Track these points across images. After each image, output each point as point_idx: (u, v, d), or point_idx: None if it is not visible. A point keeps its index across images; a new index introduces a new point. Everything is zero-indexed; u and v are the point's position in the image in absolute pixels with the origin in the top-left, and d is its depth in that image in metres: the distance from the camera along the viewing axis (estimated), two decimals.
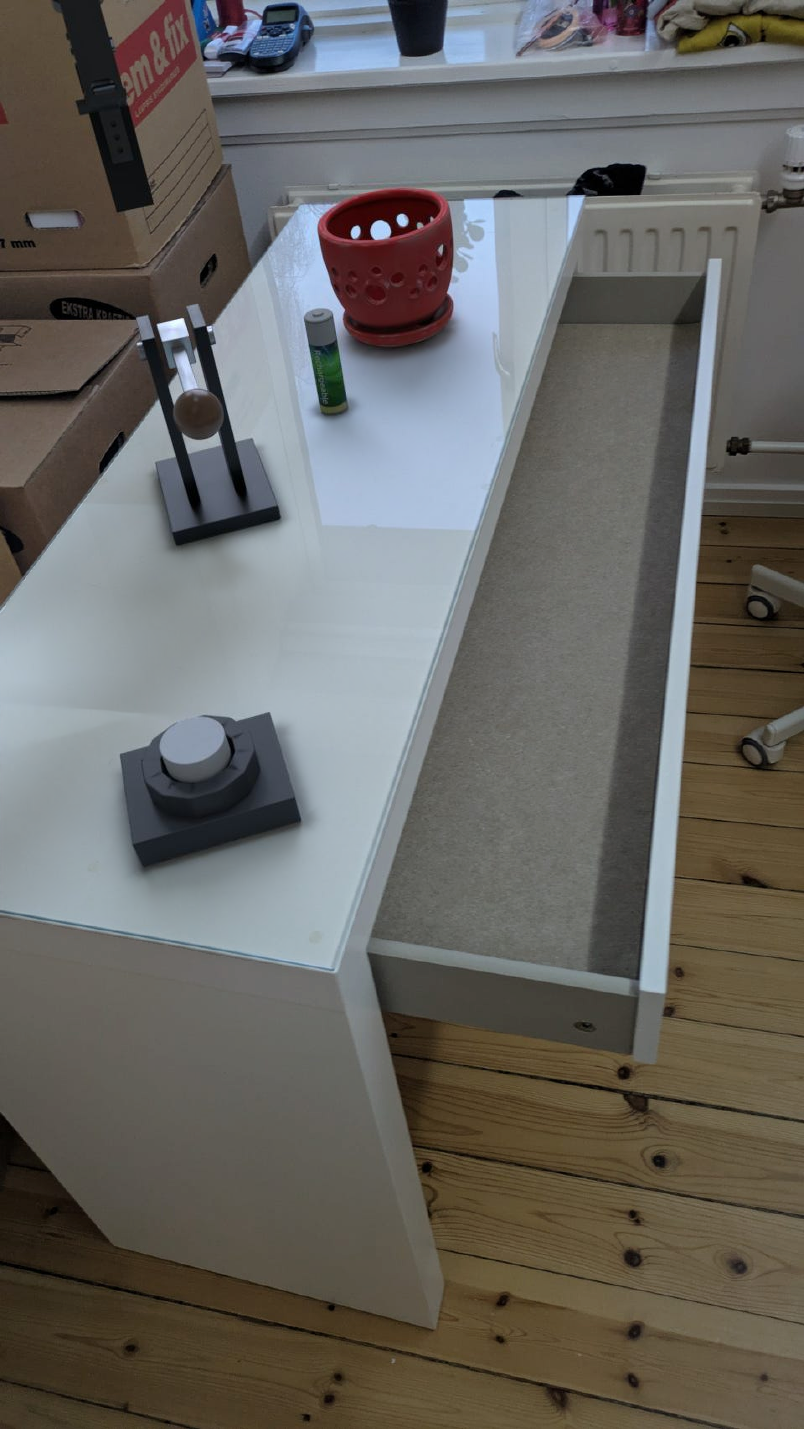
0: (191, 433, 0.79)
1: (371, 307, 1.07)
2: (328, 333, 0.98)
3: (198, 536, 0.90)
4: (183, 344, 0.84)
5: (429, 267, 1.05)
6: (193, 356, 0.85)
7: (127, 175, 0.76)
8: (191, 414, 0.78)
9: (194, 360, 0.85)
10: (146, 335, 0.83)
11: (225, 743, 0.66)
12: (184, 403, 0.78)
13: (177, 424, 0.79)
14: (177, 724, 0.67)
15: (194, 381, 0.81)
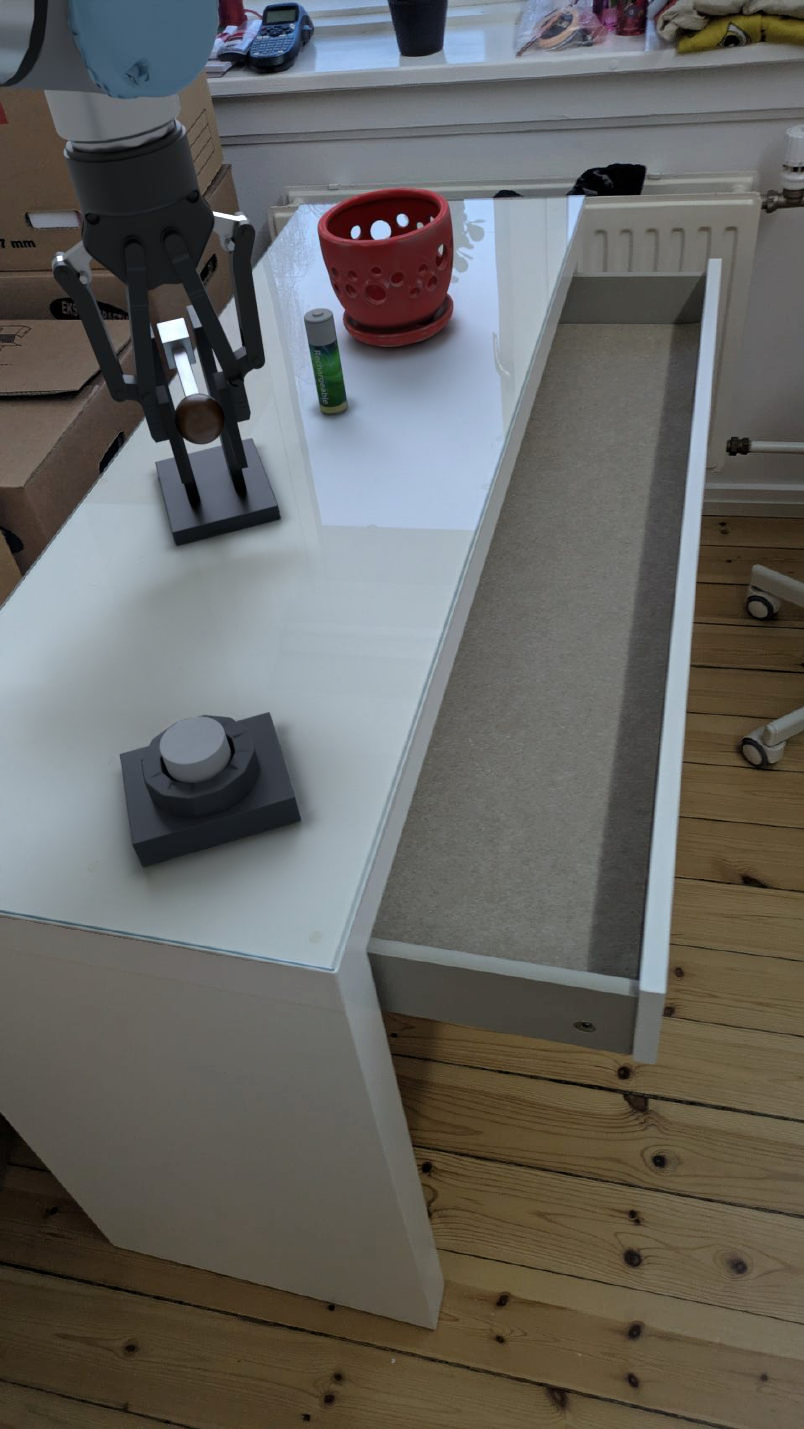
0: (192, 438, 0.79)
1: (371, 307, 1.07)
2: (328, 333, 0.98)
3: (198, 536, 0.90)
4: (183, 345, 0.84)
5: (429, 267, 1.05)
6: (193, 356, 0.85)
7: None
8: (192, 420, 0.78)
9: (194, 360, 0.86)
10: None
11: (225, 743, 0.66)
12: (186, 409, 0.78)
13: (178, 429, 0.79)
14: (177, 724, 0.67)
15: (195, 384, 0.81)
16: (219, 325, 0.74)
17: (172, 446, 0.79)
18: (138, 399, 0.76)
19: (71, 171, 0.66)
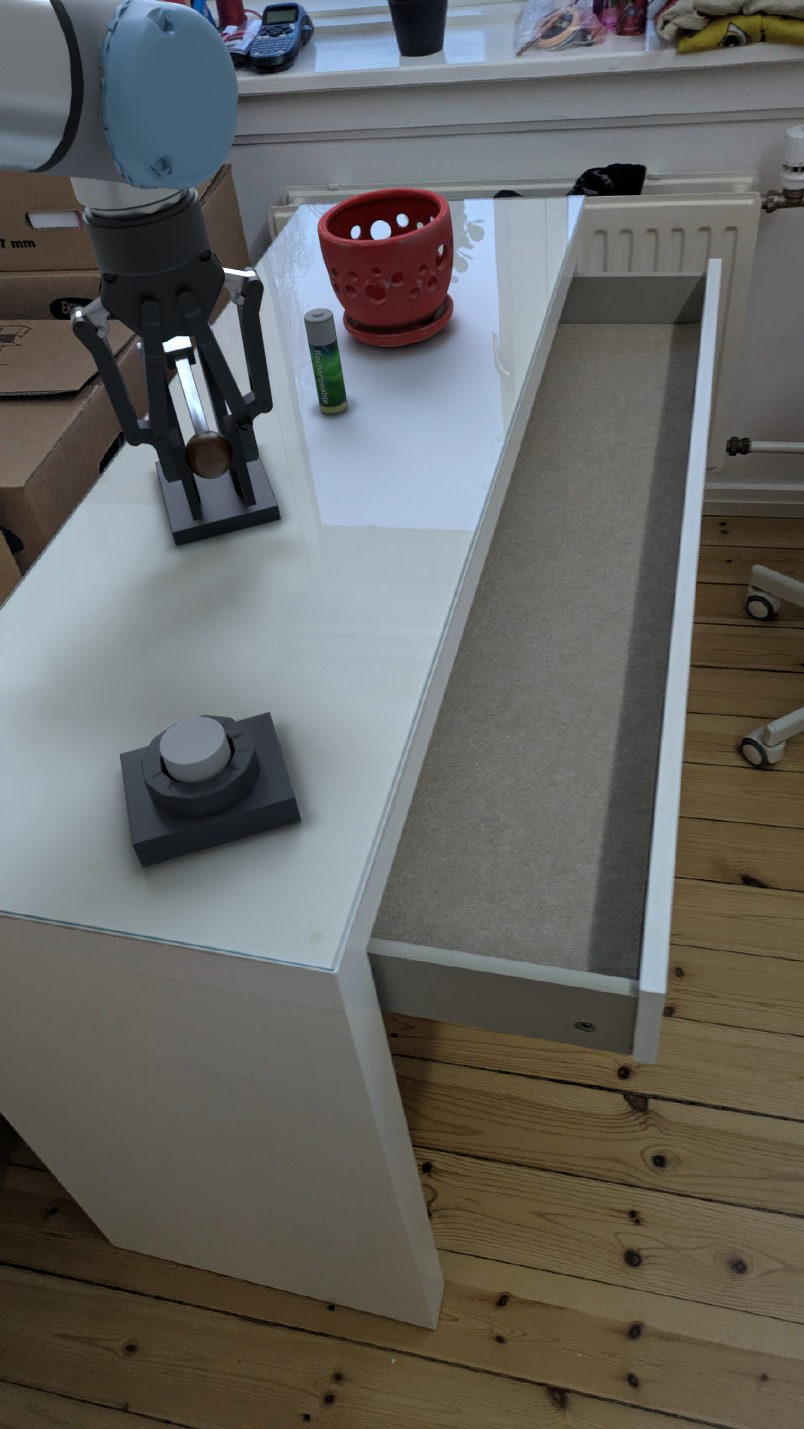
0: (203, 477, 0.83)
1: (371, 307, 1.07)
2: (328, 333, 0.98)
3: (198, 536, 0.90)
4: (185, 353, 0.85)
5: (429, 267, 1.05)
6: (194, 360, 0.86)
7: None
8: (204, 465, 0.82)
9: (194, 362, 0.86)
10: None
11: (225, 743, 0.66)
12: (198, 454, 0.81)
13: (189, 467, 0.83)
14: (177, 724, 0.67)
15: (202, 410, 0.84)
16: (229, 373, 0.78)
17: (184, 486, 0.83)
18: (152, 443, 0.80)
19: (90, 235, 0.69)
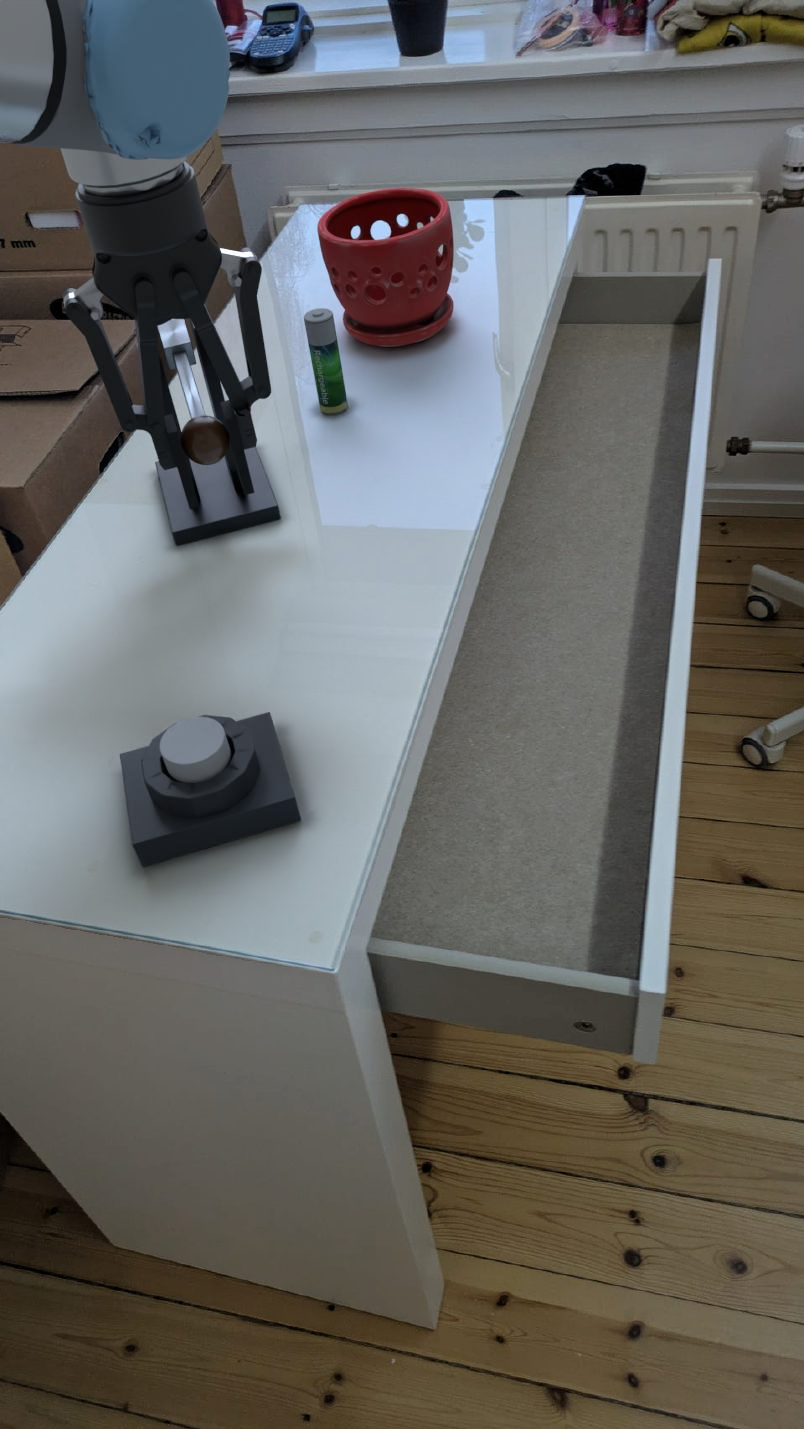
0: (199, 461, 0.81)
1: (371, 307, 1.07)
2: (328, 333, 0.98)
3: (198, 536, 0.90)
4: (184, 349, 0.84)
5: (429, 267, 1.05)
6: (194, 358, 0.86)
7: None
8: (200, 446, 0.80)
9: (194, 362, 0.86)
10: None
11: (225, 743, 0.66)
12: (193, 435, 0.80)
13: (185, 452, 0.81)
14: (177, 724, 0.67)
15: (199, 399, 0.82)
16: (226, 357, 0.76)
17: (180, 473, 0.81)
18: (147, 429, 0.78)
19: (83, 213, 0.67)
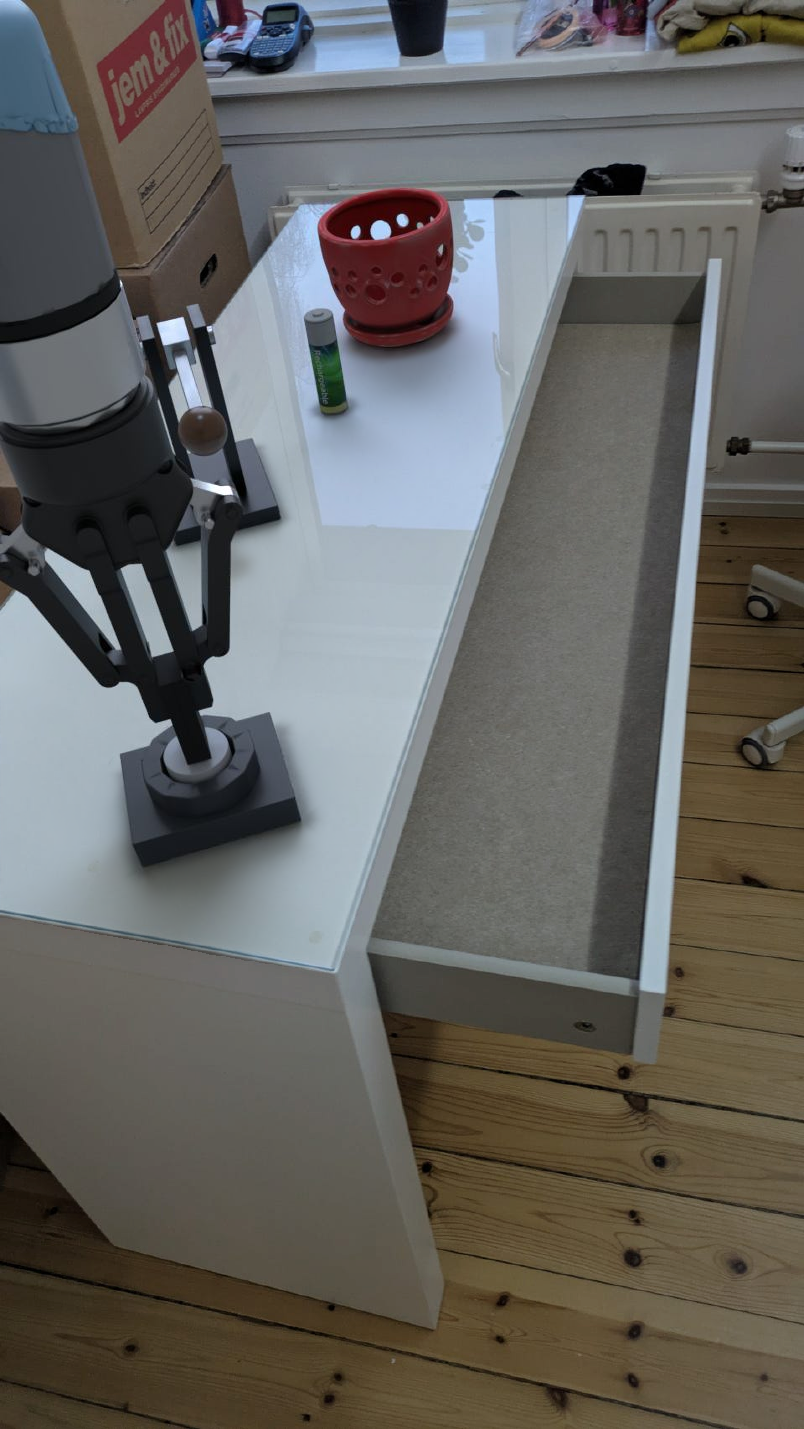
0: (196, 451, 0.80)
1: (371, 307, 1.07)
2: (328, 333, 0.98)
3: (198, 536, 0.90)
4: (184, 347, 0.84)
5: (429, 267, 1.05)
6: (193, 358, 0.85)
7: (199, 716, 0.65)
8: (196, 435, 0.79)
9: (194, 361, 0.86)
10: (146, 335, 0.83)
11: (228, 754, 0.67)
12: (190, 423, 0.79)
13: (182, 442, 0.80)
14: None
15: (197, 393, 0.82)
16: (182, 612, 0.58)
17: (175, 728, 0.63)
18: (134, 681, 0.61)
19: (2, 449, 0.50)
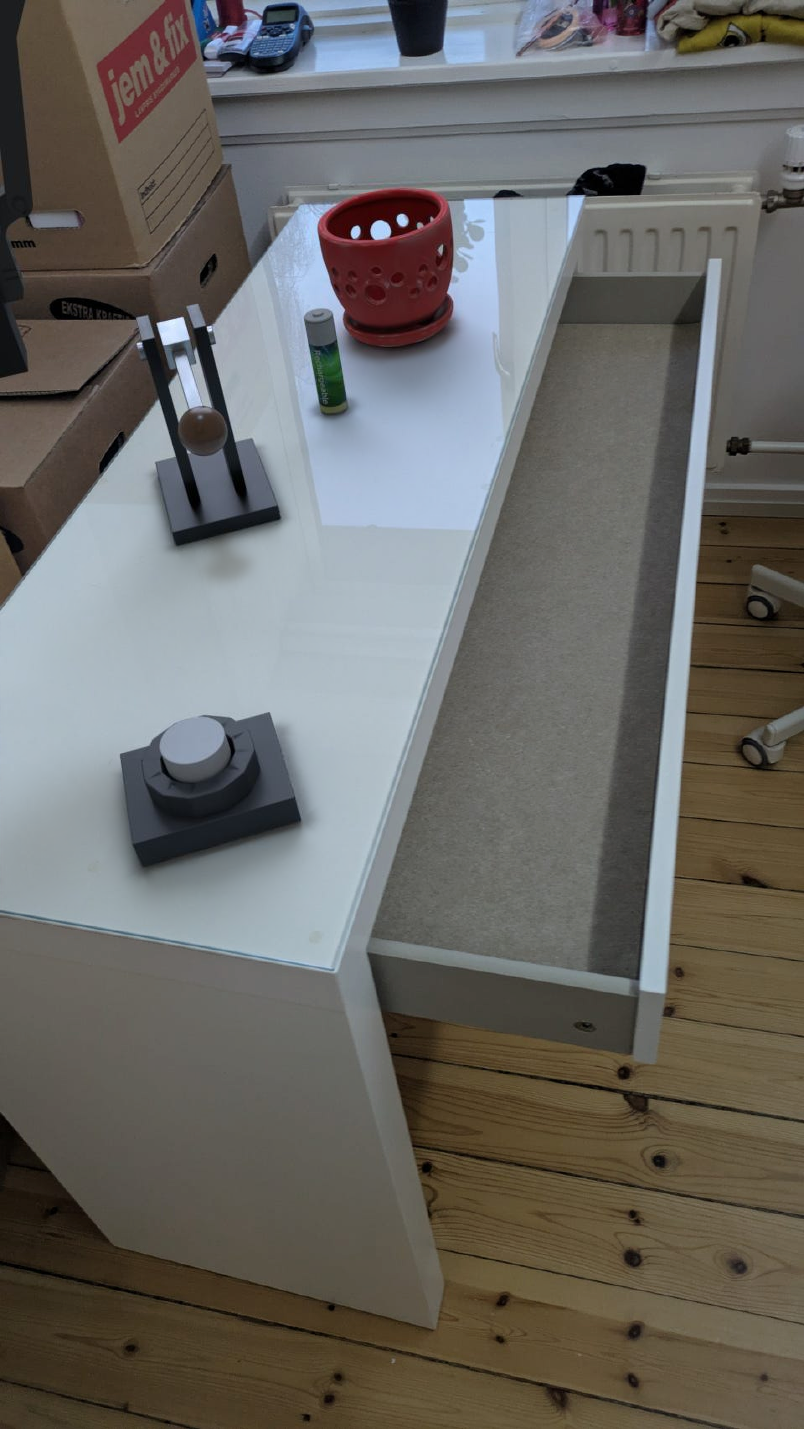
0: (196, 451, 0.80)
1: (371, 307, 1.07)
2: (328, 333, 0.98)
3: (198, 536, 0.90)
4: (184, 347, 0.84)
5: (429, 267, 1.05)
6: (193, 358, 0.85)
7: (11, 319, 0.56)
8: (196, 435, 0.79)
9: (194, 361, 0.86)
10: (146, 335, 0.83)
11: (225, 743, 0.66)
12: (190, 423, 0.79)
13: (182, 442, 0.80)
14: (177, 724, 0.67)
15: (197, 393, 0.82)
16: None
17: None
18: None
19: None
